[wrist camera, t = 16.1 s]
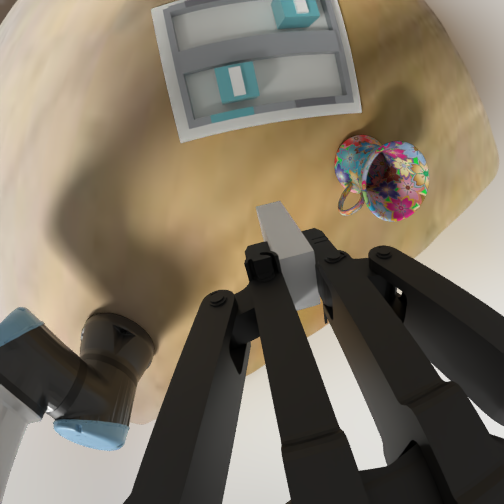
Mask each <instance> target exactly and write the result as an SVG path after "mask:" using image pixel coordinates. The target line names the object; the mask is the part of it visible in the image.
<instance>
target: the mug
mask: <svg viewBox="0 0 504 504" xmlns="http://www.w3.org/2000/svg"><path fill="white" fill-rule="evenodd" d="M334 166H335V173H336V176H337V178H338V180H339V182H340V183H341V185H342V186H343V187H344V188H346V189H345V190H344V192H343V193H342V195H341V197H340V199H339V203H338V210H339V212H340V213H341V214H342V215H343V216H349V215H352V214H354V213H355V212H357V211H358V210H359V209H360V208H361V207H362V206H363V204H364V202H366V205H367V206H368V208H369V209H370V211H371V212H372V213H373V214H374V215H376V216H377V217H378V218H380V219H382V220H385V221H400V220H403V219H405V218H407V217H409V216H410V215H412V214H413V213H414V212H415V211H416V210H417V209H418V208H419V207H420V205H421V204H422V202H423V201H424V199H425V196H426V194H427V190H428V186H429V170H428V166H427V163H426V160H425V158H424V156H423V155H422V153H421V152H420V151H419V150H418V149H417V148H416V147H415V146H413V145H412V144H410V143H407V142H403V141H392V142H389V143H386V144H384V145H381V144H380V143H379V142H378V141H377V140H376V139H374V138H373V137H370V136H367V135H356V136H353V137H351V138H349V139H347V140H346V141H345V142H344V143H343V144H342V145H341V146H340V148H339V149H338V151H337V154H336V157H335V164H334ZM350 191H351V192H354V193H360V194H361V197H360V200H359V201H358V203H357V204H356V205H355V206H353V207H352V208H350V209H348V210H342V207H343V203H344V201H345V199H346V197H347V195H348V194H349V192H350Z"/></svg>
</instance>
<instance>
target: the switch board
mask: <svg viewBox="0 0 504 504" xmlns="http://www.w3.org/2000/svg"><path fill="white" fill-rule="evenodd" d="M271 3H272V0H179V1H175V2H172V3H168V4H165V5H162V6H159V7H155V8H152V9H151V13H152V18H153V23H154V29H155V34H156V39H157V44H158V48H159V53H160V58H161V63H162V67H163V72H164V76H165V81H166V85H167V89H168V94H169V98H170V102H171V106H172V111H173V115H174V119H175V123H176V127H177V131H178V135H179V139H180V143H184V142H187V141H191V140H195V139H199V138H203V137H207V136H211V135H215V134H219V133H224V132H228V131H233V130H237V129H242V128H247V127H252V126H257V125H263V124H268V123H274V122H281V121H287V120H294V119H301V118H309V117H317V116H326V115H337V114H349V113H362V109H361V102H360V96H359V90H358V84H357V78H356V73H355V68H354V63H353V58H352V54H351V49H350V45H349V41H348V37H347V33H346V29H345V25H344V21H343V18H342V14H341V11H340V8H339V4H338V1H337V0H316V3H317V7H318V10H319V14H320V17H319V18H318V19H317V20H316V21H314V22H313V23H312V24H311V25H310V26H309V27H307V28H288V29H277V26H276V22H275V18H274V14H273V11H272V7H271ZM251 61H252V62H253V66H254V70H255V75H256V79H257V84H258V89H259V93H260V96H258V97H257V98H254V99H249V100H244V101H238V102H234V103H229V104H224V105H223V104H222V101H221V97H220V93H219V88H218V84H217V79H216V75H215V71H214V68H219V67H224V66H228V65H234V64H239V63H245V62H251Z"/></svg>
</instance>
